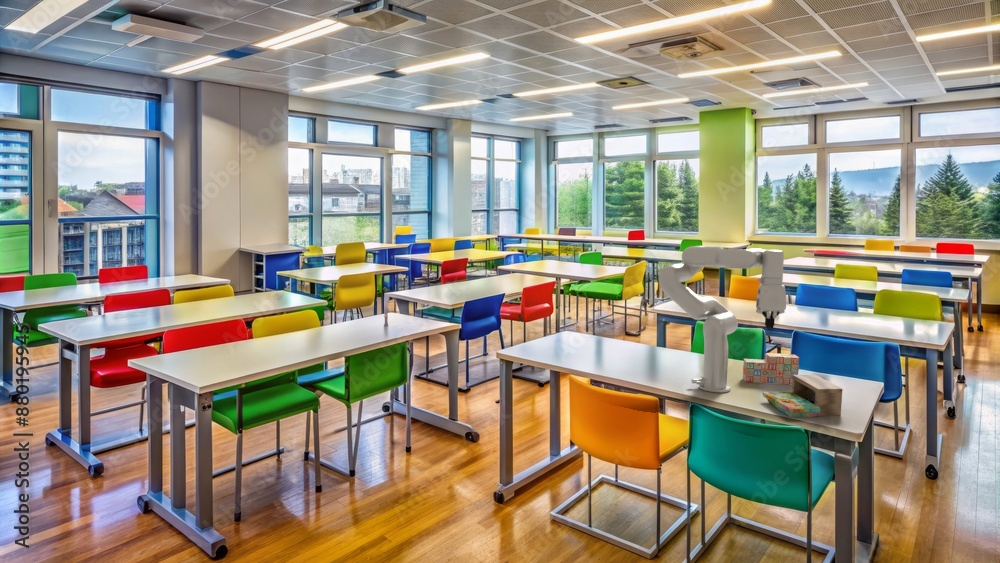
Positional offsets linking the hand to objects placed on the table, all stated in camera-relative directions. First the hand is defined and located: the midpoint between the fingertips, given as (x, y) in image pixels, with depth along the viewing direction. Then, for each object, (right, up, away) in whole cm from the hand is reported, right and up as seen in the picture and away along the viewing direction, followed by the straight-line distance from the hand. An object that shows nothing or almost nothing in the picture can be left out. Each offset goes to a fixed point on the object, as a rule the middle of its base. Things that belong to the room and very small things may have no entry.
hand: (769, 327), depth 236 cm
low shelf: (+15, -30, -5) cm, 34 cm away
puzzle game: (+4, -31, -8) cm, 32 cm away
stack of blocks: (+13, -26, +28) cm, 41 cm away
